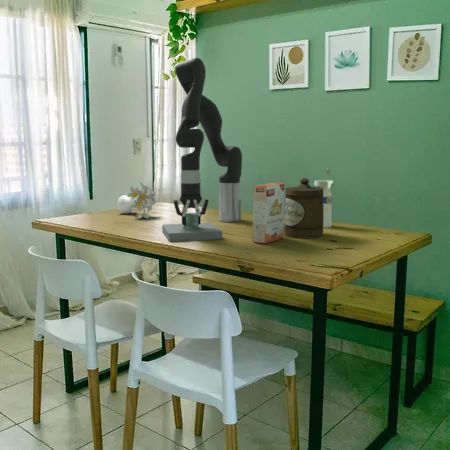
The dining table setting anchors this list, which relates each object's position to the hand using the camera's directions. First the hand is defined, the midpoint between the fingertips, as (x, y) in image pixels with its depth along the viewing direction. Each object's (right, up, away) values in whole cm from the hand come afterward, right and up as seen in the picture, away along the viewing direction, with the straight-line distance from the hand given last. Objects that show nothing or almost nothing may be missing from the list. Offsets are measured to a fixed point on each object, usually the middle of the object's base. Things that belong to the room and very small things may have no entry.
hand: (191, 225), depth 215 cm
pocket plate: (0, -4, +1) cm, 4 cm away
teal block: (0, -4, +1) cm, 4 cm away
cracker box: (+29, -6, -10) cm, 31 cm away
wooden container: (+44, -4, +2) cm, 44 cm away
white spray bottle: (+55, 0, +21) cm, 59 cm away
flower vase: (-30, +5, +51) cm, 60 cm away
